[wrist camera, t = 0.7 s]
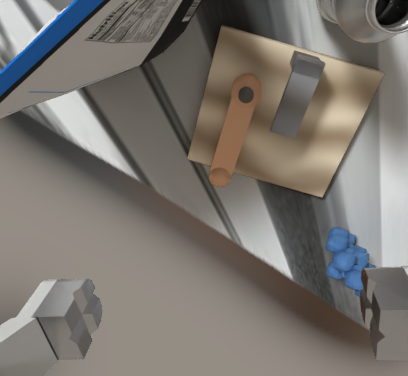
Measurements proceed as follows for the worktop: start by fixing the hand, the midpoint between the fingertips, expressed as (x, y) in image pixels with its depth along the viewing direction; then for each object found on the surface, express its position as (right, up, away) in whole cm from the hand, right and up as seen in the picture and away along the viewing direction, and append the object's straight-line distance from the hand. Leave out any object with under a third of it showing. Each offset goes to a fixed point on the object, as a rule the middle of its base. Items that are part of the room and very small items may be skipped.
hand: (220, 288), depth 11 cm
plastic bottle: (+15, +25, +30) cm, 42 cm away
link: (+3, +11, +38) cm, 40 cm away
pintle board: (+9, +13, +39) cm, 41 cm away
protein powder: (-8, +24, +35) cm, 43 cm away
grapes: (+21, -5, +47) cm, 52 cm away
